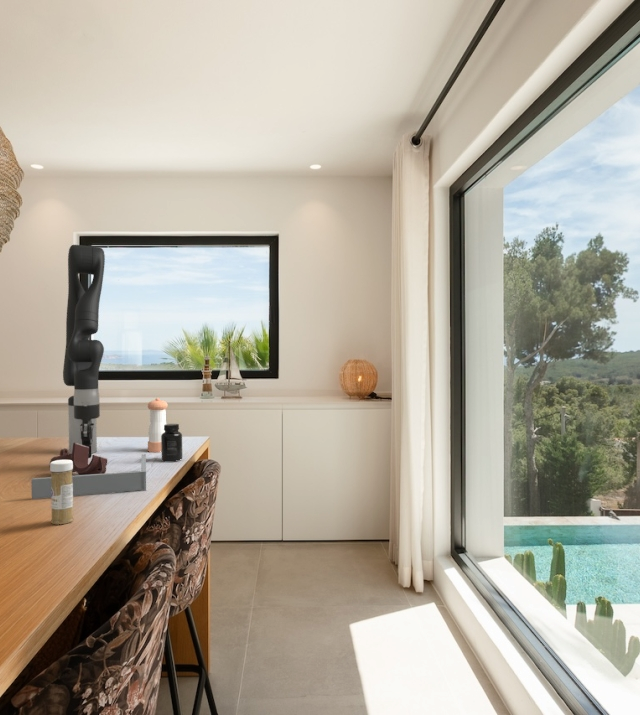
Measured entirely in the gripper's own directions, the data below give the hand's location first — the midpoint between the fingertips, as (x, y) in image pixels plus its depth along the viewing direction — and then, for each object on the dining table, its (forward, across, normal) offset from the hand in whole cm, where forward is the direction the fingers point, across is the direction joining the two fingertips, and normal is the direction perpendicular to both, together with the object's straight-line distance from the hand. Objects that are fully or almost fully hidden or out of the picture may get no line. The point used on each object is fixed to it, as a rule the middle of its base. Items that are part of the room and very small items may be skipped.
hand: (87, 457), depth 180 cm
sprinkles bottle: (+4, +58, 0) cm, 58 cm away
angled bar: (+3, +23, +4) cm, 23 cm away
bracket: (+4, +12, -1) cm, 12 cm away
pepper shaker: (+3, -22, +22) cm, 32 cm away
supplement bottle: (+3, -3, +26) cm, 26 cm away
